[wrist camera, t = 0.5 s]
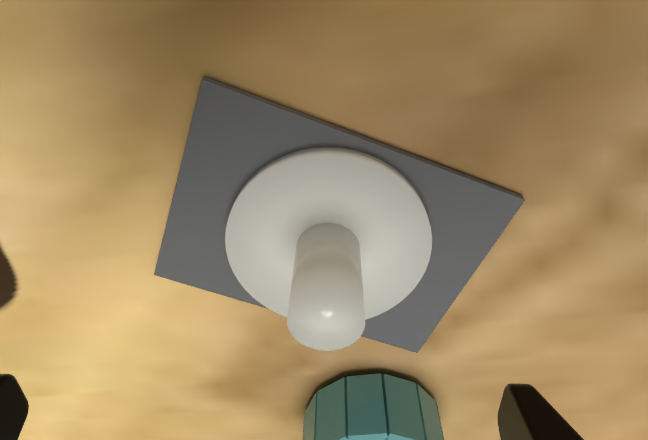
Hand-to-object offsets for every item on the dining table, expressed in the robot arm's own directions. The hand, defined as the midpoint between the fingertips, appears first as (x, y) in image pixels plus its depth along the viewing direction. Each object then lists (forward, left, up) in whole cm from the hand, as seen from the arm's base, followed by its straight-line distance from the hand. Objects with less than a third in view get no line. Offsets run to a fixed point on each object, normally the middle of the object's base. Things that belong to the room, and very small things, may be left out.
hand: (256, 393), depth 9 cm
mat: (-3, +4, -13) cm, 13 cm away
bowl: (-10, +15, -13) cm, 22 cm away
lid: (-3, +4, -12) cm, 13 cm away
